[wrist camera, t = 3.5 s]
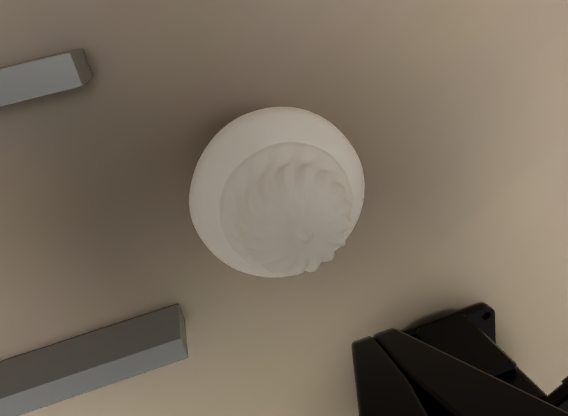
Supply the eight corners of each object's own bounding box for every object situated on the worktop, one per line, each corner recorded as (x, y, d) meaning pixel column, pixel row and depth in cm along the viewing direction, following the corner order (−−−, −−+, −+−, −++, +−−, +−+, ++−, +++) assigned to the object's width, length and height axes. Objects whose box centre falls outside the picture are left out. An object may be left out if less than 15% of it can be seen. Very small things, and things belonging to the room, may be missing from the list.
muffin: (198, 249, 20) (218, 353, 14) (168, 106, 18) (175, 153, 11) (335, 219, 21) (411, 303, 15) (324, 81, 19) (409, 111, 12)
